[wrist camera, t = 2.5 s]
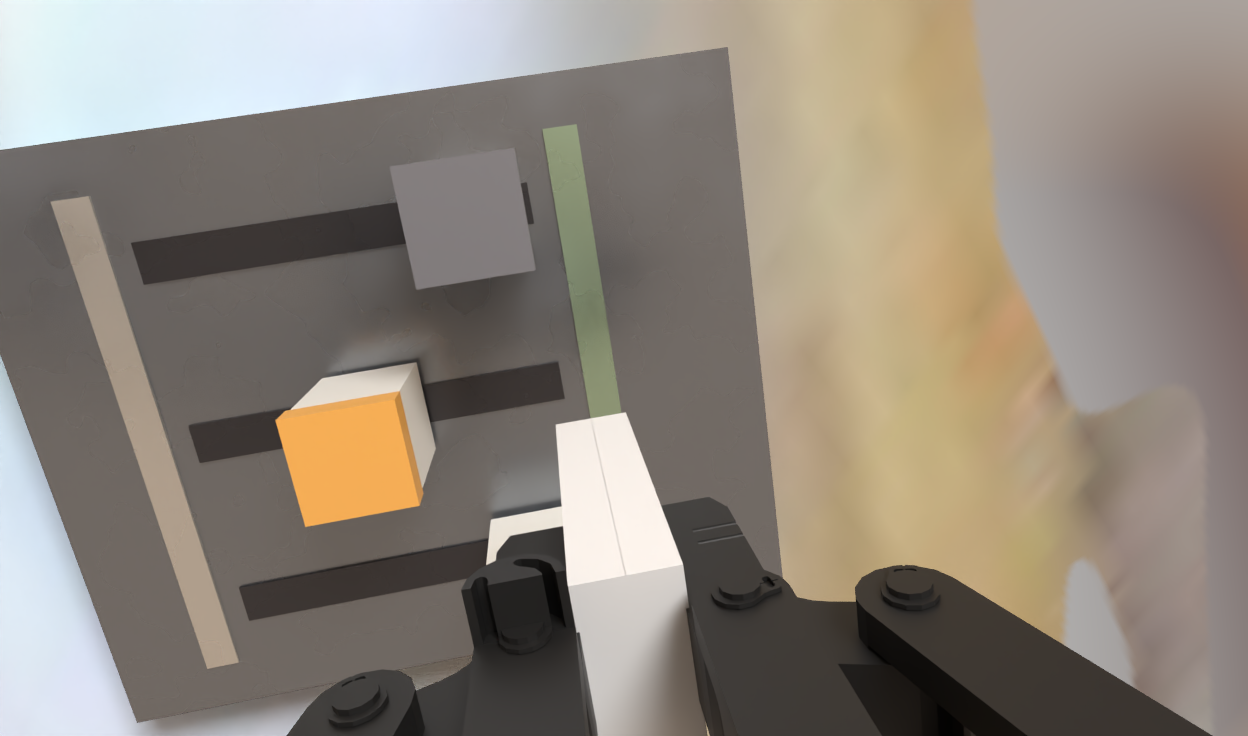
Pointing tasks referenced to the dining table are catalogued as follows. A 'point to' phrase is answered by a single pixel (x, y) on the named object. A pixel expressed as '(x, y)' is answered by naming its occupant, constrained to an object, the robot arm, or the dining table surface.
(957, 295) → the dining table surface
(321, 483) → the tripped breaker
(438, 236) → the block
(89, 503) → the panel
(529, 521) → the block
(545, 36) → the dining table surface
